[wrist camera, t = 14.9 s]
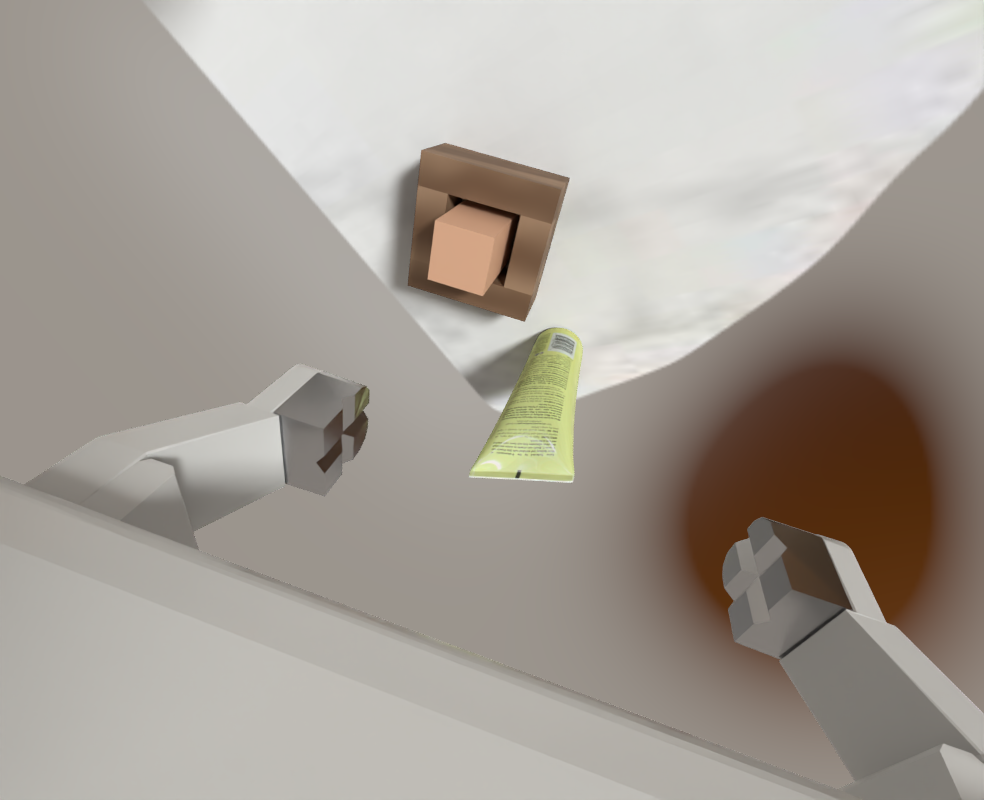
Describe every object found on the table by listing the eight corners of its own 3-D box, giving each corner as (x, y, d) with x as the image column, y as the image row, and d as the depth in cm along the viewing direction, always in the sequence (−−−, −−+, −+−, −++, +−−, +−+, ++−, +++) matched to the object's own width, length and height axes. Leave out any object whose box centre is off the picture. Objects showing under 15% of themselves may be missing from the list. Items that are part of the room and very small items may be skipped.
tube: (556, 381, 49) (520, 518, 34) (520, 351, 48) (466, 477, 33) (594, 348, 46) (574, 482, 30) (557, 315, 45) (516, 436, 29)
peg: (470, 196, 40) (435, 220, 33) (520, 210, 40) (494, 238, 32) (462, 246, 43) (427, 279, 35) (508, 260, 42) (482, 296, 35)
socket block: (445, 143, 39) (421, 150, 35) (569, 178, 38) (561, 189, 34) (429, 266, 46) (407, 285, 41) (535, 298, 45) (524, 321, 40)
